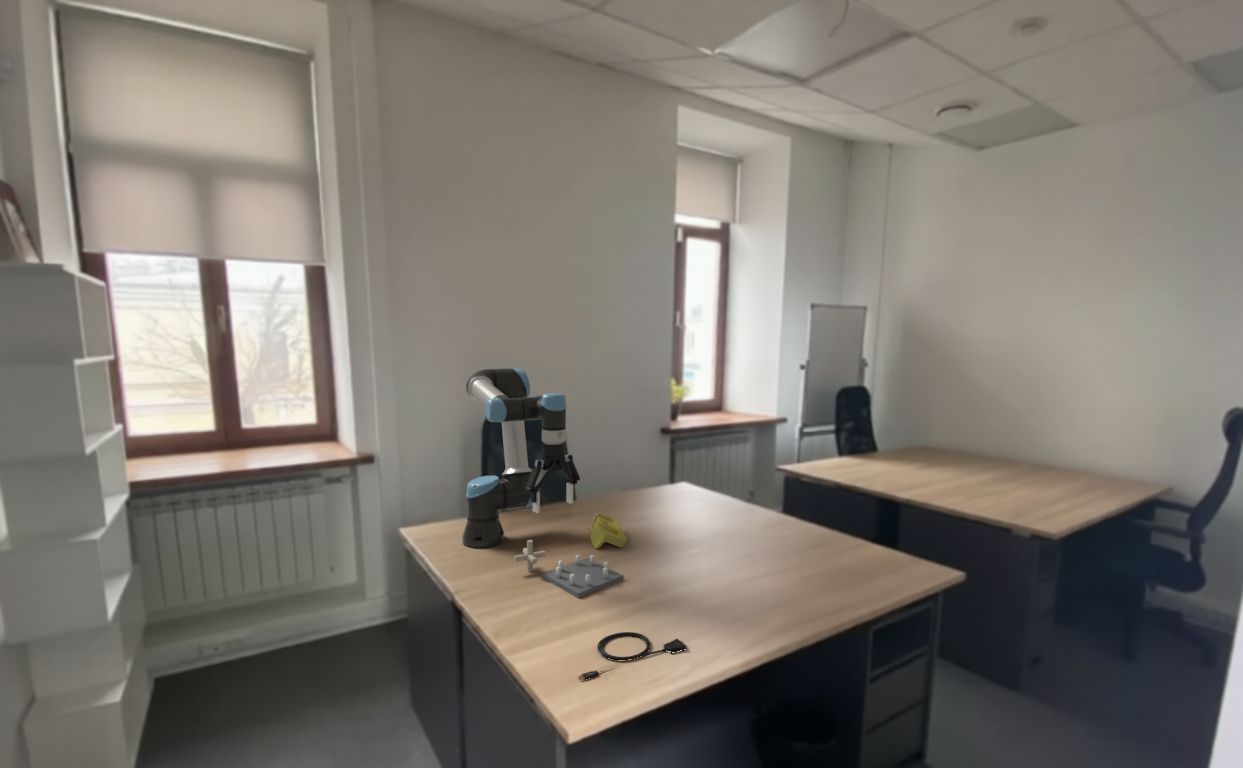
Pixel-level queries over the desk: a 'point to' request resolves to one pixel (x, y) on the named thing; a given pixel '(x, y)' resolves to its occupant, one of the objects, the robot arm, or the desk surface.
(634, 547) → the desk surface
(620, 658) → the cable
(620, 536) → the plastic component
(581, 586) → the grey peg board
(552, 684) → the desk surface
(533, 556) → the pipe connector
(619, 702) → the desk surface
